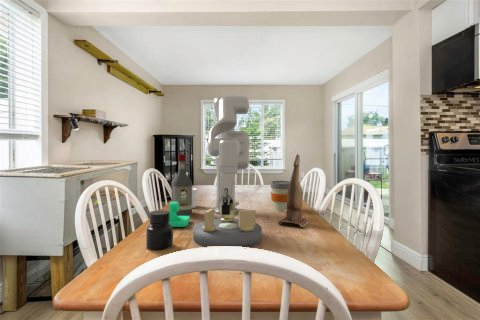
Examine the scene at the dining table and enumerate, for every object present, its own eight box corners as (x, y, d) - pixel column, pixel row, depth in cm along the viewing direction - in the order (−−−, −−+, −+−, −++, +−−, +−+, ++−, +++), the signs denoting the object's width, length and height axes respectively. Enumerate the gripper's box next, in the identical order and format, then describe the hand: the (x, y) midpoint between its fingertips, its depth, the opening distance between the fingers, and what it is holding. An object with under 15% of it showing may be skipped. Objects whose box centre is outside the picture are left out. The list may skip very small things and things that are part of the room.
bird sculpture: (277, 226, 131) (279, 154, 128) (285, 219, 142) (287, 152, 139) (302, 230, 127) (305, 155, 124) (308, 223, 137) (311, 153, 134)
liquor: (170, 212, 153) (171, 153, 151) (188, 210, 156) (188, 153, 154) (174, 216, 144) (174, 154, 142) (192, 215, 148) (193, 154, 146)
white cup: (199, 205, 169) (199, 188, 168) (193, 208, 161) (193, 190, 161) (187, 204, 171) (187, 187, 171) (180, 207, 164) (180, 189, 163)
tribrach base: (222, 224, 132) (222, 198, 132) (273, 235, 117) (274, 207, 117) (178, 239, 111) (179, 209, 110) (234, 255, 96) (235, 220, 96)
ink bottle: (178, 243, 107) (178, 210, 106) (166, 252, 99) (166, 216, 98) (153, 240, 109) (153, 208, 109) (140, 249, 101) (140, 214, 100)
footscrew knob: (235, 219, 124) (235, 202, 124) (233, 222, 119) (234, 205, 119) (220, 219, 125) (220, 201, 124) (218, 222, 120) (219, 204, 119)
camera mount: (185, 229, 125) (185, 205, 124) (167, 228, 125) (167, 204, 124) (190, 221, 137) (190, 199, 136) (173, 221, 137) (173, 199, 136)
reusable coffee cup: (276, 205, 172) (277, 180, 171) (296, 209, 165) (297, 182, 164) (265, 209, 162) (266, 182, 161) (286, 213, 155) (287, 184, 154)
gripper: (222, 168, 130) (221, 206, 131) (215, 172, 112) (214, 216, 114) (239, 168, 129) (238, 207, 130) (234, 172, 112) (234, 217, 113)
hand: (227, 211), depth 122 cm, fingers open, 9 cm apart
